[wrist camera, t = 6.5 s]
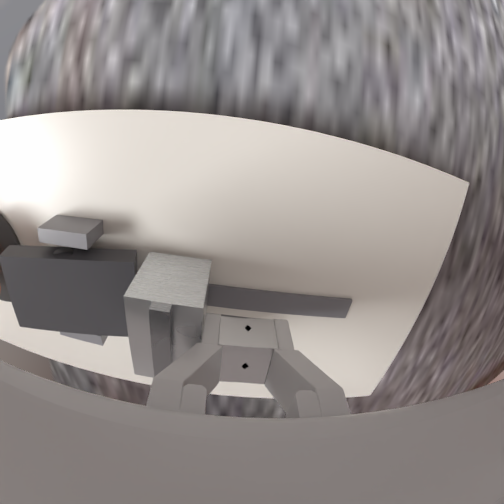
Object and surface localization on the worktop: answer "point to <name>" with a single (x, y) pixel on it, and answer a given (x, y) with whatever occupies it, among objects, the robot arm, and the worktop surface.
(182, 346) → the slider knob
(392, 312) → the control panel
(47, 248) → the rocker switch
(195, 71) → the worktop surface
